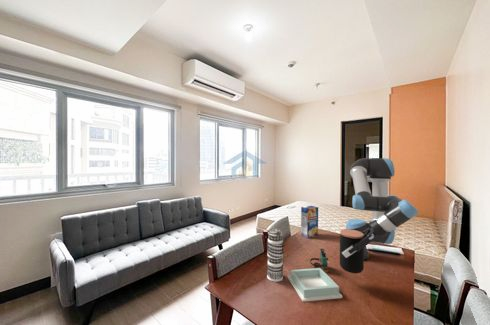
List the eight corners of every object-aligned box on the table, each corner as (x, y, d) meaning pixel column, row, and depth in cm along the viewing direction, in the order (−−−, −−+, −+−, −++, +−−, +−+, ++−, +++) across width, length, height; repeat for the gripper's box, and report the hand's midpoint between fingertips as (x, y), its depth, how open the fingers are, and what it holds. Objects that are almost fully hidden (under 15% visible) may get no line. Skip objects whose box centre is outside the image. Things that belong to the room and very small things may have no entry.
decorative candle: (279, 284, 104) (280, 234, 104) (263, 278, 108) (263, 231, 108) (286, 275, 111) (286, 229, 111) (270, 270, 116) (271, 226, 116)
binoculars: (308, 247, 125) (325, 247, 123) (310, 265, 124) (327, 265, 122) (310, 254, 116) (328, 254, 114) (312, 273, 116) (330, 273, 114)
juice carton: (311, 233, 178) (311, 205, 178) (318, 236, 172) (318, 207, 172) (300, 235, 173) (301, 206, 173) (307, 238, 166) (307, 208, 166)
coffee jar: (366, 268, 104) (366, 232, 103) (360, 276, 96) (360, 238, 95) (343, 260, 111) (343, 227, 111) (336, 268, 103) (336, 232, 103)
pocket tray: (320, 275, 112) (320, 266, 112) (342, 297, 94) (342, 288, 94) (287, 277, 109) (287, 269, 109) (302, 301, 91) (303, 291, 91)
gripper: (391, 240, 85) (348, 267, 93) (387, 225, 105) (352, 248, 113) (376, 225, 88) (336, 253, 96) (375, 213, 107) (342, 237, 116)
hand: (345, 250), depth 105 cm, fingers closed on coffee jar, 11 cm apart
